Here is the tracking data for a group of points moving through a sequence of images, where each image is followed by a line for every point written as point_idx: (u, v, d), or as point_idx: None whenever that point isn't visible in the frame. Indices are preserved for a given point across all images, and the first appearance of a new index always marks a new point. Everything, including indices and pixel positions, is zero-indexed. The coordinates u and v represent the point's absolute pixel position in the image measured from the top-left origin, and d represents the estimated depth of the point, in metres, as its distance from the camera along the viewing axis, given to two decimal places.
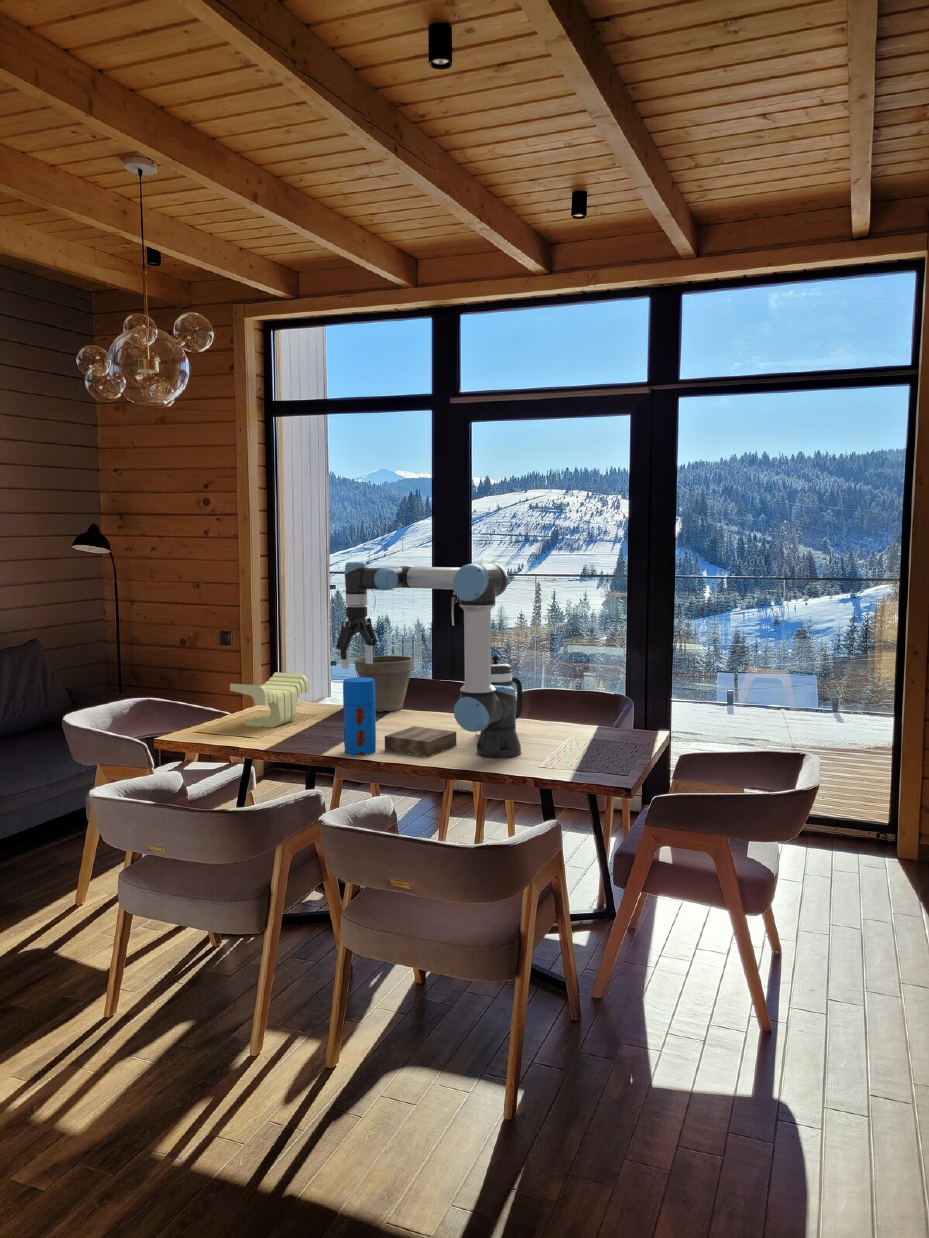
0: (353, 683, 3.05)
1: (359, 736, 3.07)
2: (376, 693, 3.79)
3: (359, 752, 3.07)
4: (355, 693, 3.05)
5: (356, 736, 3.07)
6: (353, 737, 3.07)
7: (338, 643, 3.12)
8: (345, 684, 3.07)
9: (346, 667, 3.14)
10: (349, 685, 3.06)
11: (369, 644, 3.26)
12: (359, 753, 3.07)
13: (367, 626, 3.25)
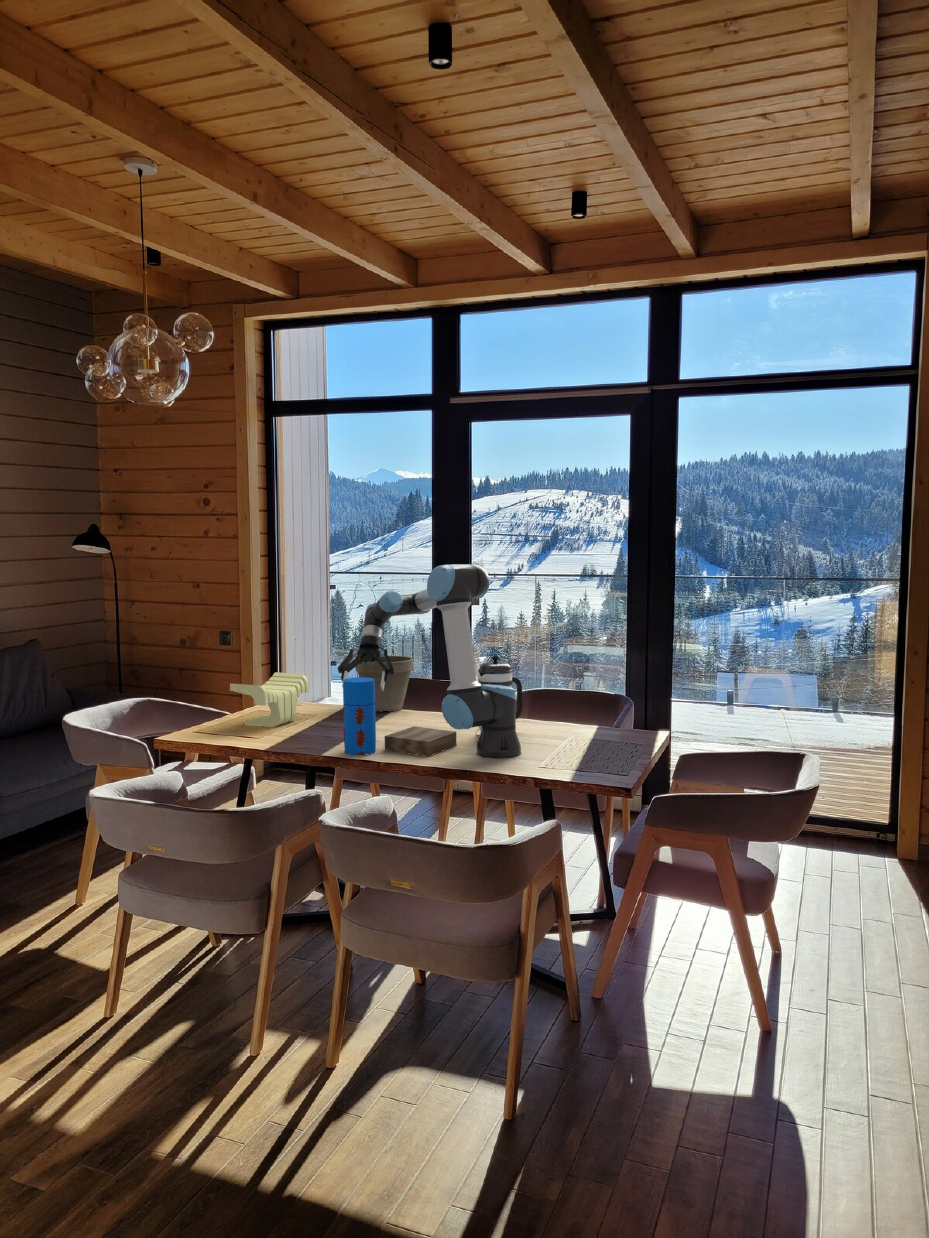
0: (353, 683, 3.05)
1: (359, 736, 3.07)
2: (376, 693, 3.79)
3: (359, 752, 3.07)
4: (355, 693, 3.05)
5: (356, 736, 3.07)
6: (353, 737, 3.07)
7: None
8: (345, 684, 3.07)
9: None
10: (349, 685, 3.06)
11: None
12: (359, 753, 3.07)
13: None
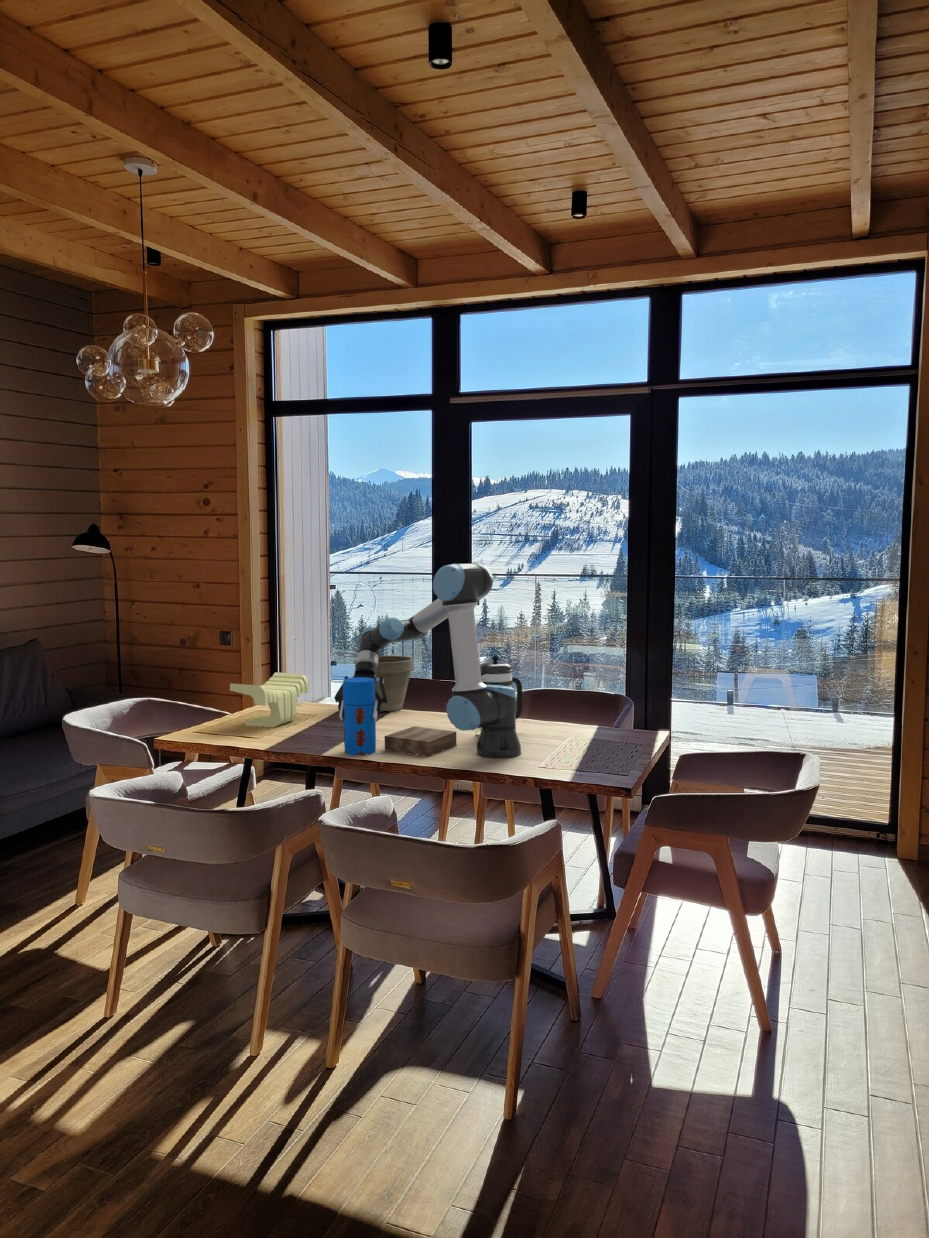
0: (353, 683, 3.05)
1: (359, 736, 3.07)
2: None
3: (359, 752, 3.07)
4: (355, 693, 3.05)
5: (356, 736, 3.07)
6: (353, 737, 3.07)
7: None
8: (345, 684, 3.07)
9: None
10: (349, 685, 3.06)
11: None
12: (359, 753, 3.07)
13: None
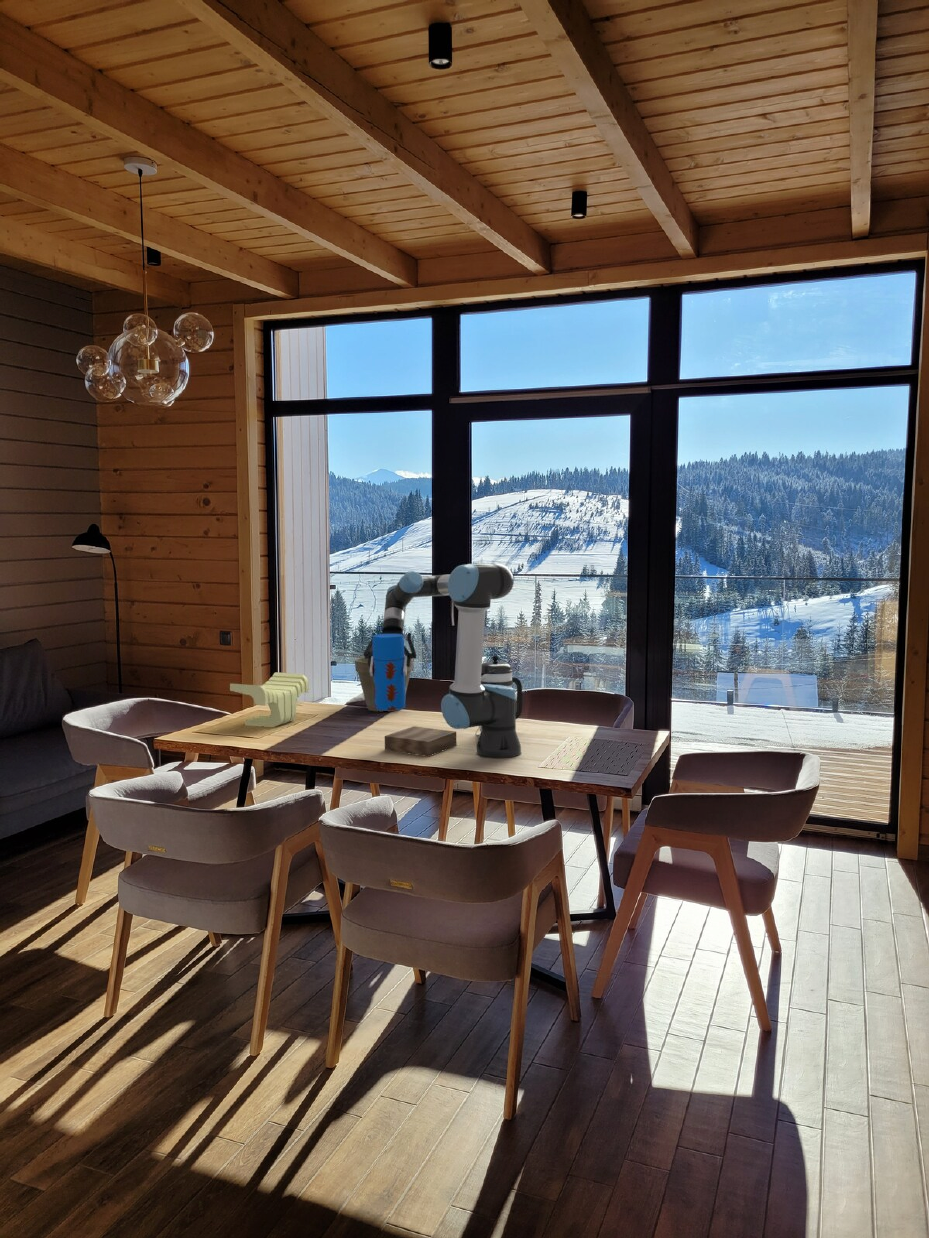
0: (383, 638, 3.08)
1: (390, 691, 3.09)
2: None
3: (390, 707, 3.10)
4: (386, 648, 3.08)
5: (387, 691, 3.09)
6: (384, 692, 3.09)
7: None
8: (375, 640, 3.09)
9: None
10: (379, 640, 3.08)
11: None
12: (390, 708, 3.10)
13: None
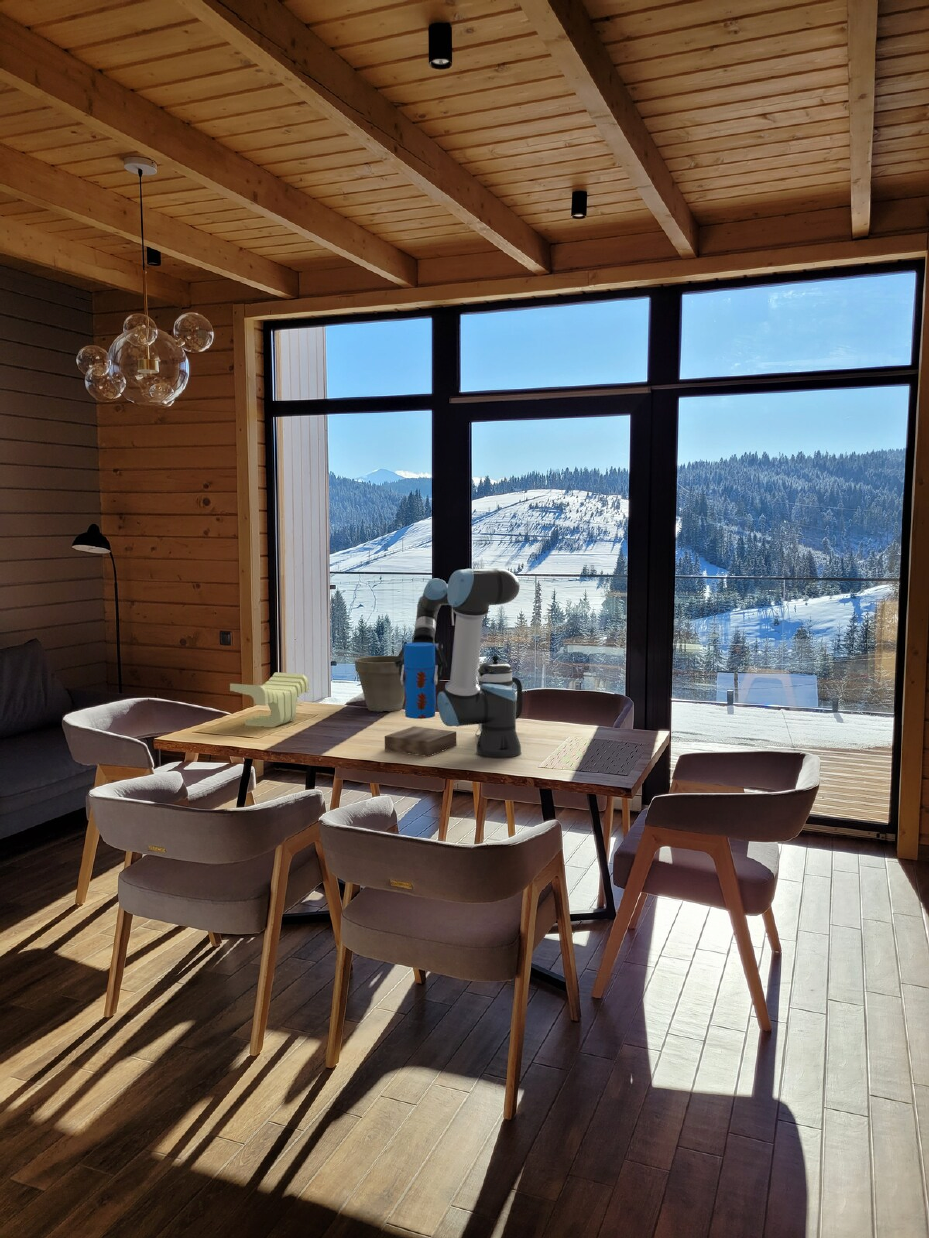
0: (415, 647, 3.10)
1: (420, 699, 3.11)
2: (376, 693, 3.79)
3: (420, 715, 3.12)
4: (417, 657, 3.10)
5: (417, 700, 3.11)
6: (414, 700, 3.11)
7: None
8: (406, 648, 3.11)
9: None
10: (411, 649, 3.10)
11: None
12: (420, 716, 3.12)
13: None
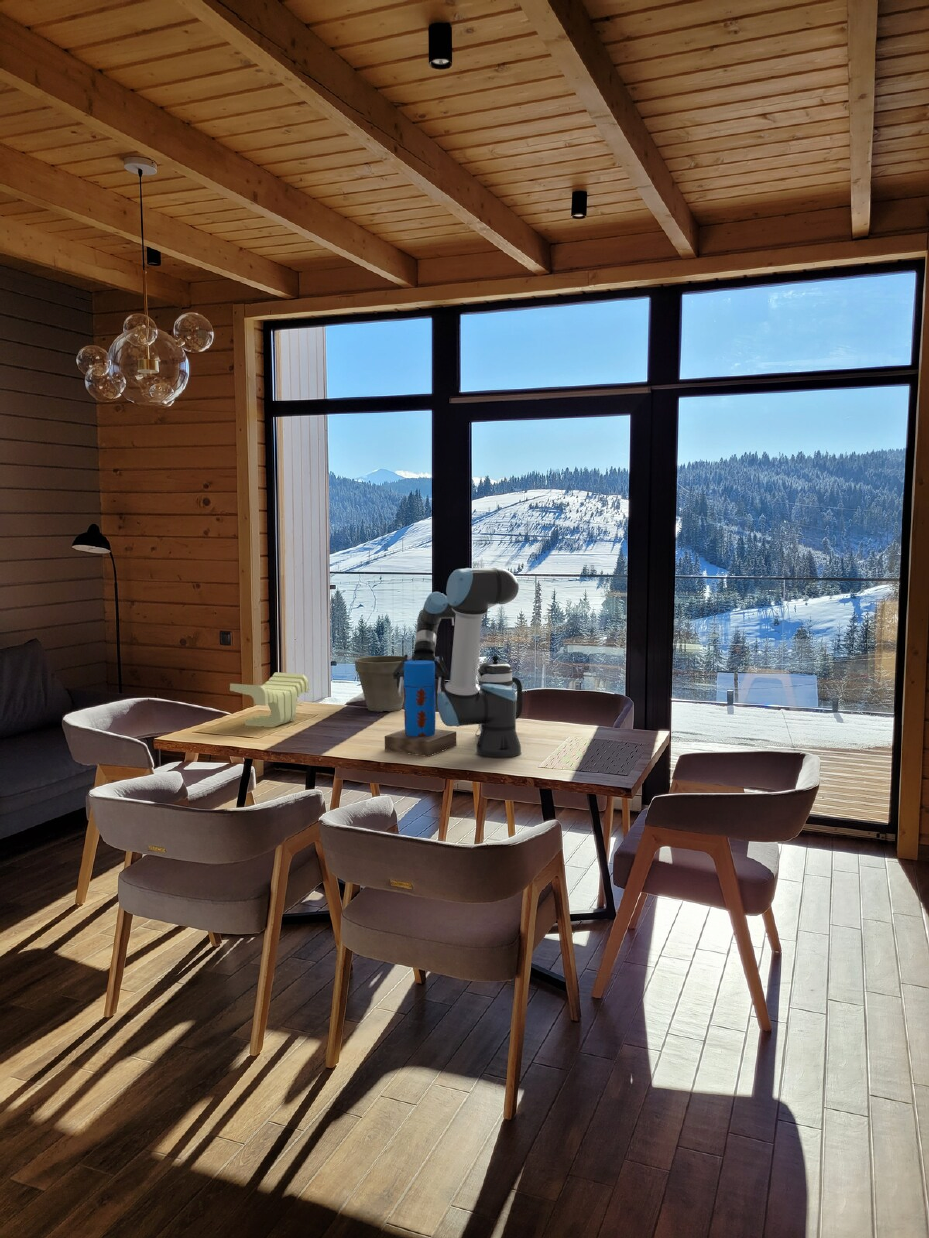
0: (415, 665, 3.10)
1: (420, 717, 3.11)
2: (376, 693, 3.79)
3: (420, 733, 3.12)
4: (417, 675, 3.10)
5: (417, 717, 3.11)
6: (414, 718, 3.12)
7: None
8: (406, 666, 3.12)
9: None
10: (410, 667, 3.11)
11: None
12: (420, 734, 3.12)
13: (440, 663, 3.21)
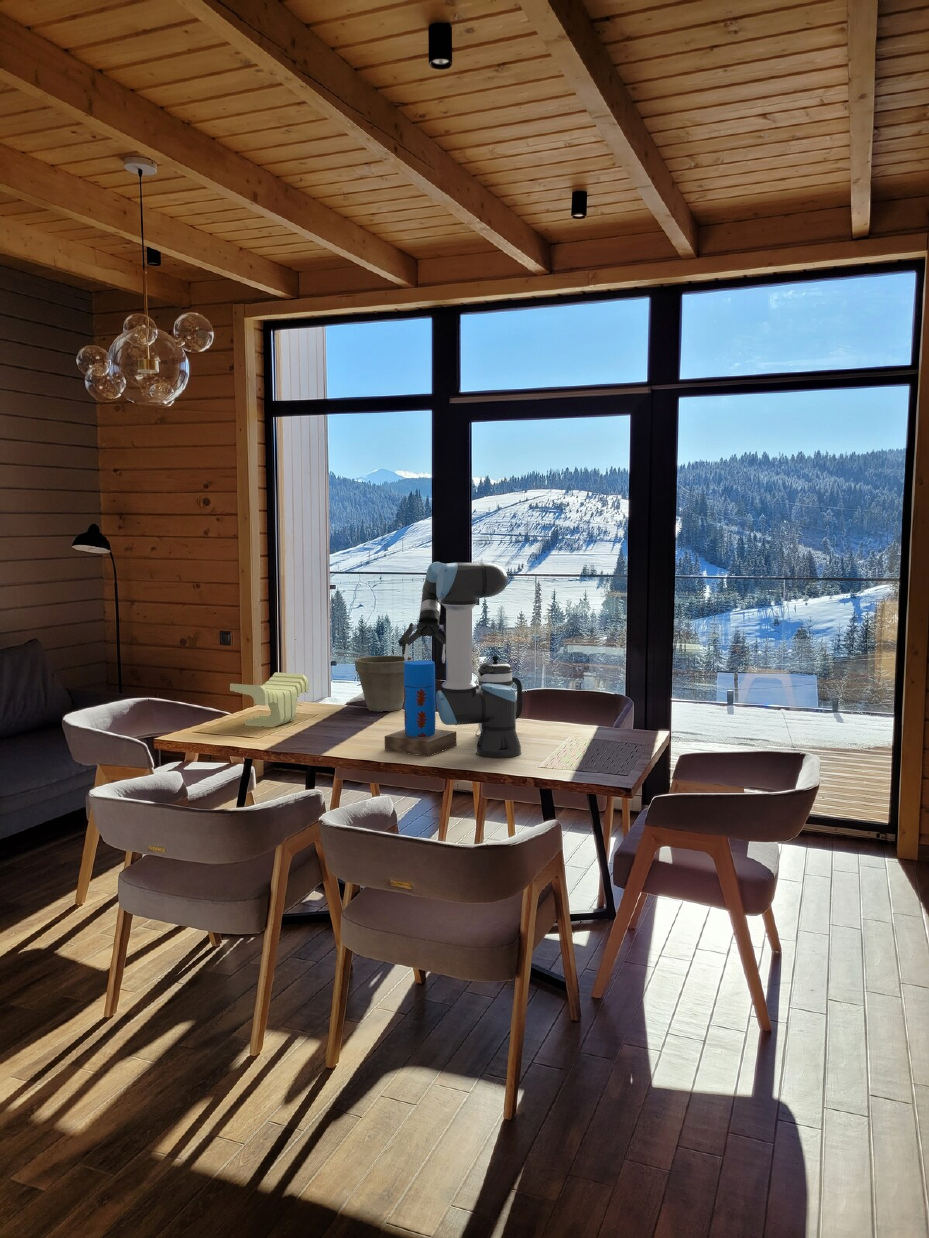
0: (415, 665, 3.10)
1: (420, 718, 3.11)
2: (376, 693, 3.79)
3: (420, 733, 3.12)
4: (417, 675, 3.10)
5: (417, 718, 3.11)
6: (414, 719, 3.12)
7: None
8: (406, 666, 3.12)
9: None
10: (410, 667, 3.11)
11: (445, 645, 3.29)
12: (420, 734, 3.12)
13: (444, 631, 3.33)
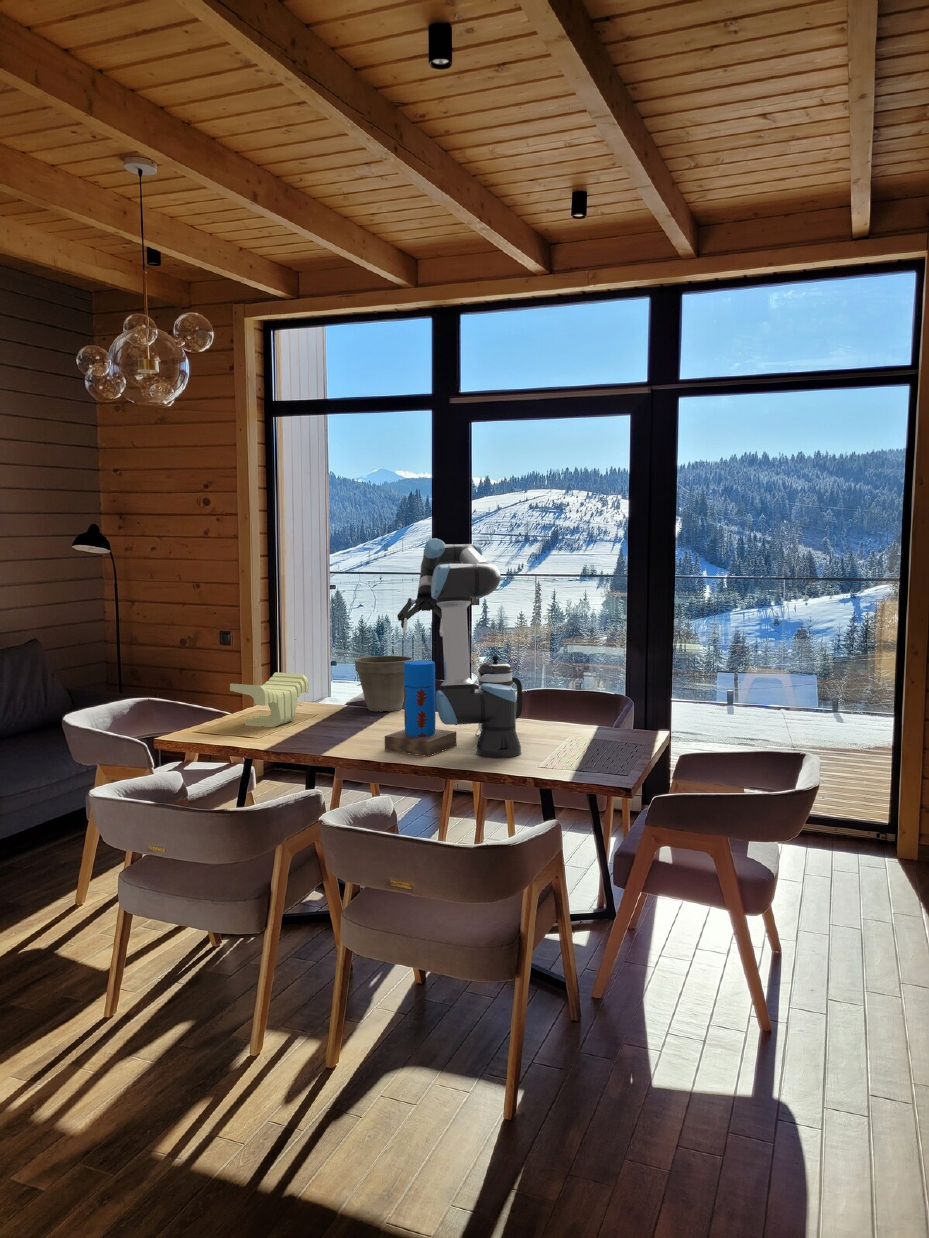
0: (415, 665, 3.10)
1: (420, 718, 3.11)
2: (376, 693, 3.79)
3: (420, 733, 3.12)
4: (417, 676, 3.10)
5: (417, 718, 3.11)
6: (414, 719, 3.12)
7: None
8: (406, 666, 3.12)
9: None
10: (411, 667, 3.11)
11: None
12: (420, 734, 3.12)
13: None
